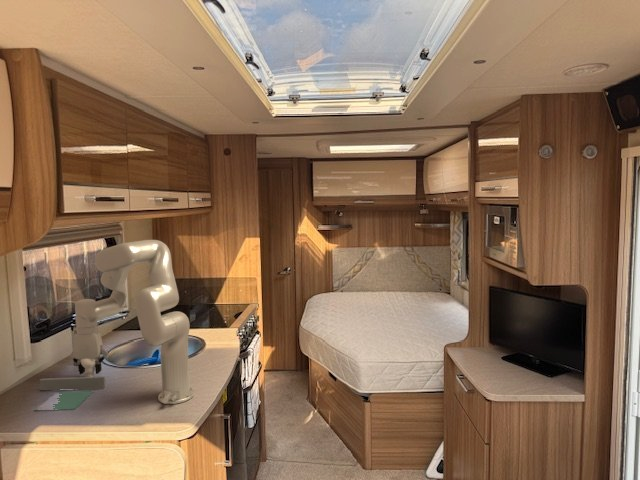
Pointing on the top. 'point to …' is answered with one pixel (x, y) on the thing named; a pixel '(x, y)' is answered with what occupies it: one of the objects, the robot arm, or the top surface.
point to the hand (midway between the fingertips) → (90, 372)
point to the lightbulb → (89, 366)
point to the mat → (71, 400)
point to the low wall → (73, 383)
